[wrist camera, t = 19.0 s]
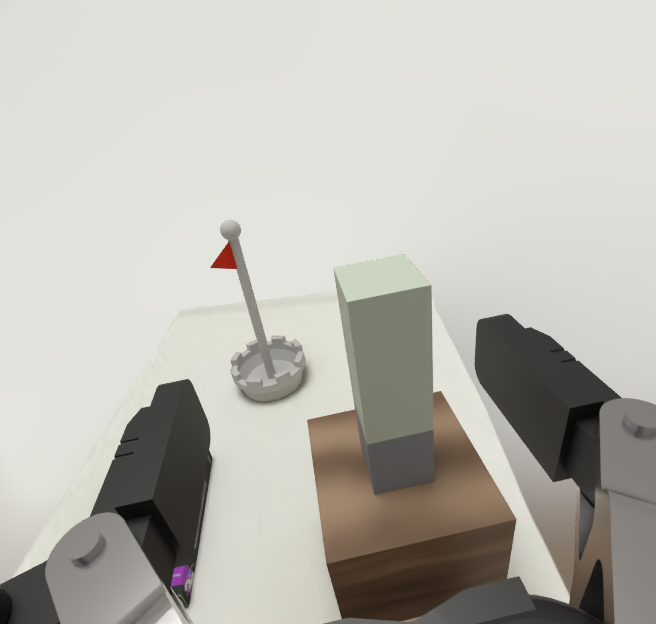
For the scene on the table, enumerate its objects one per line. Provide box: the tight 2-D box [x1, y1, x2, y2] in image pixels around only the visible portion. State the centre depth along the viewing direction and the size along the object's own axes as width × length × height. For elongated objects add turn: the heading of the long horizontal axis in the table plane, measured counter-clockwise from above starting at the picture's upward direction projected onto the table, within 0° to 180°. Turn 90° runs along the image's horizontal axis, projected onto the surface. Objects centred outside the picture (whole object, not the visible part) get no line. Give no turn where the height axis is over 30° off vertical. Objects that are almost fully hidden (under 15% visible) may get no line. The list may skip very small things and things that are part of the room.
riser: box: [307, 391, 516, 621], centre depth 38 cm, size 14×14×16 cm
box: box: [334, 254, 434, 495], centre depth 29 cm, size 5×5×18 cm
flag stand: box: [211, 220, 305, 402], centre depth 64 cm, size 13×13×30 cm
